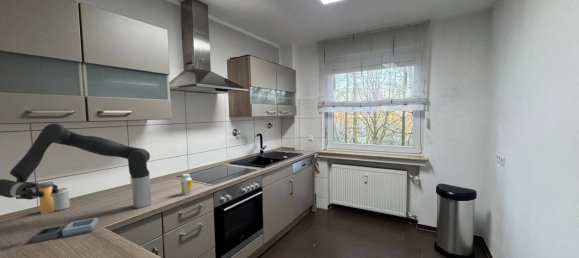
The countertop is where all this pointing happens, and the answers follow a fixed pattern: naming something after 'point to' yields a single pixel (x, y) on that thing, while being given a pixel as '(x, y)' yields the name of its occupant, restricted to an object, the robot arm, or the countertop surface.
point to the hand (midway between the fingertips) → (49, 192)
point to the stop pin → (46, 197)
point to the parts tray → (80, 227)
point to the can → (61, 199)
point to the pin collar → (48, 233)
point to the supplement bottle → (186, 184)
